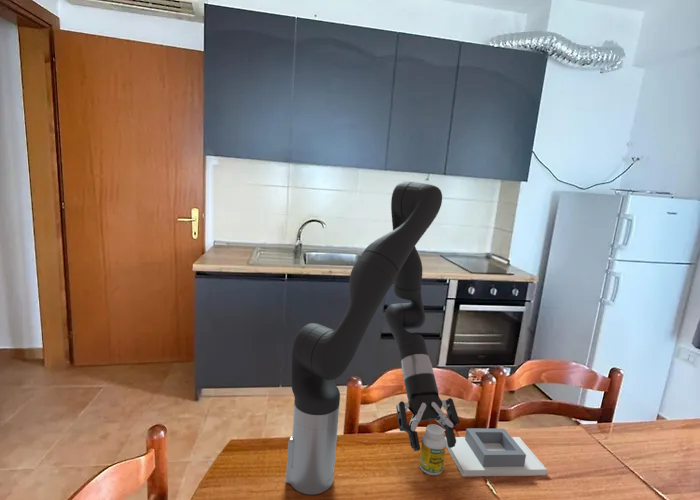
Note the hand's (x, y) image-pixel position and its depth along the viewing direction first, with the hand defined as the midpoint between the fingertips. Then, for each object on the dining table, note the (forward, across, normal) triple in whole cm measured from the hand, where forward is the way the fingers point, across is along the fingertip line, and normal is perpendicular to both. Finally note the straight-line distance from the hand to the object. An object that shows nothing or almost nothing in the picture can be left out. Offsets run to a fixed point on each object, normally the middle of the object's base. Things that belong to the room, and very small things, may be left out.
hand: (435, 448), depth 90 cm
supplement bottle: (+3, 0, +4) cm, 5 cm away
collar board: (+3, +17, +5) cm, 17 cm away
